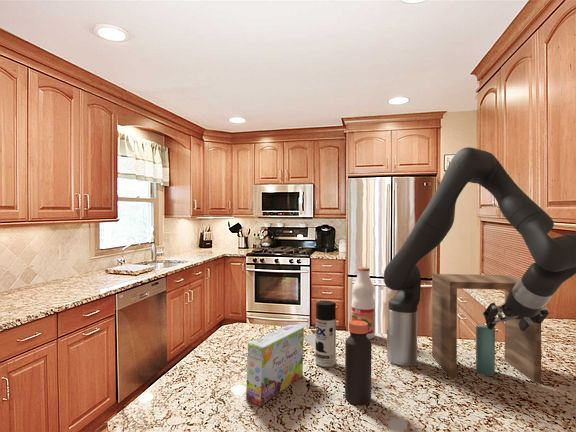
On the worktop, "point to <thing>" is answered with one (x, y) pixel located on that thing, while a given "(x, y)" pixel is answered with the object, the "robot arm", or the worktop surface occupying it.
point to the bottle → (358, 364)
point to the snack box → (274, 363)
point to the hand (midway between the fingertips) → (504, 327)
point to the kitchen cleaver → (311, 337)
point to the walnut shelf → (518, 344)
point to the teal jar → (485, 350)
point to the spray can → (325, 333)
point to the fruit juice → (364, 300)
